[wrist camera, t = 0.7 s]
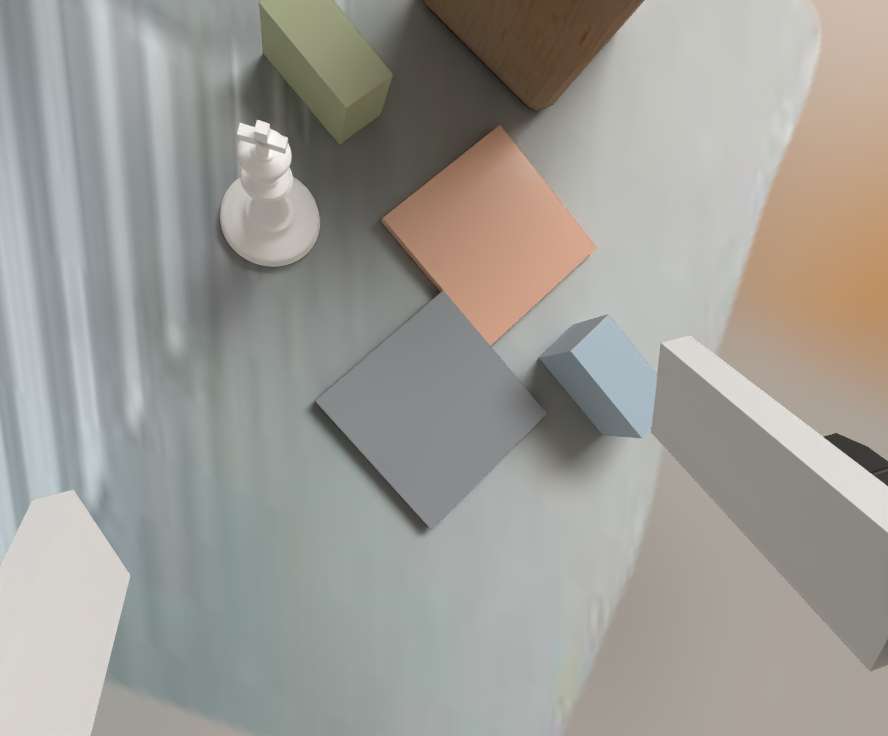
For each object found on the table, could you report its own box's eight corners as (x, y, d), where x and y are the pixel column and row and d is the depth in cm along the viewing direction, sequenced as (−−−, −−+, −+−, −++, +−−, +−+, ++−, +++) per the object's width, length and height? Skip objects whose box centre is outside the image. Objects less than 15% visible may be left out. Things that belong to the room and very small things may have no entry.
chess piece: (308, 277, 30) (316, 214, 20) (209, 252, 28) (168, 172, 19) (329, 189, 30) (347, 86, 21) (233, 161, 29) (204, 38, 19)
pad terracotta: (380, 221, 31) (382, 217, 30) (496, 129, 33) (500, 124, 32) (486, 347, 32) (490, 346, 31) (591, 250, 34) (597, 247, 34)
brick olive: (263, 54, 30) (259, 2, 26) (307, 25, 31) (309, -30, 27) (339, 145, 31) (346, 107, 27) (380, 115, 31) (393, 74, 28)
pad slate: (314, 401, 29) (315, 400, 29) (440, 292, 31) (443, 290, 31) (428, 527, 30) (431, 529, 30) (542, 413, 33) (547, 413, 32)
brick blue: (537, 358, 33) (570, 351, 29) (572, 325, 34) (608, 313, 30) (601, 434, 34) (641, 438, 30) (633, 401, 34) (677, 399, 30)
